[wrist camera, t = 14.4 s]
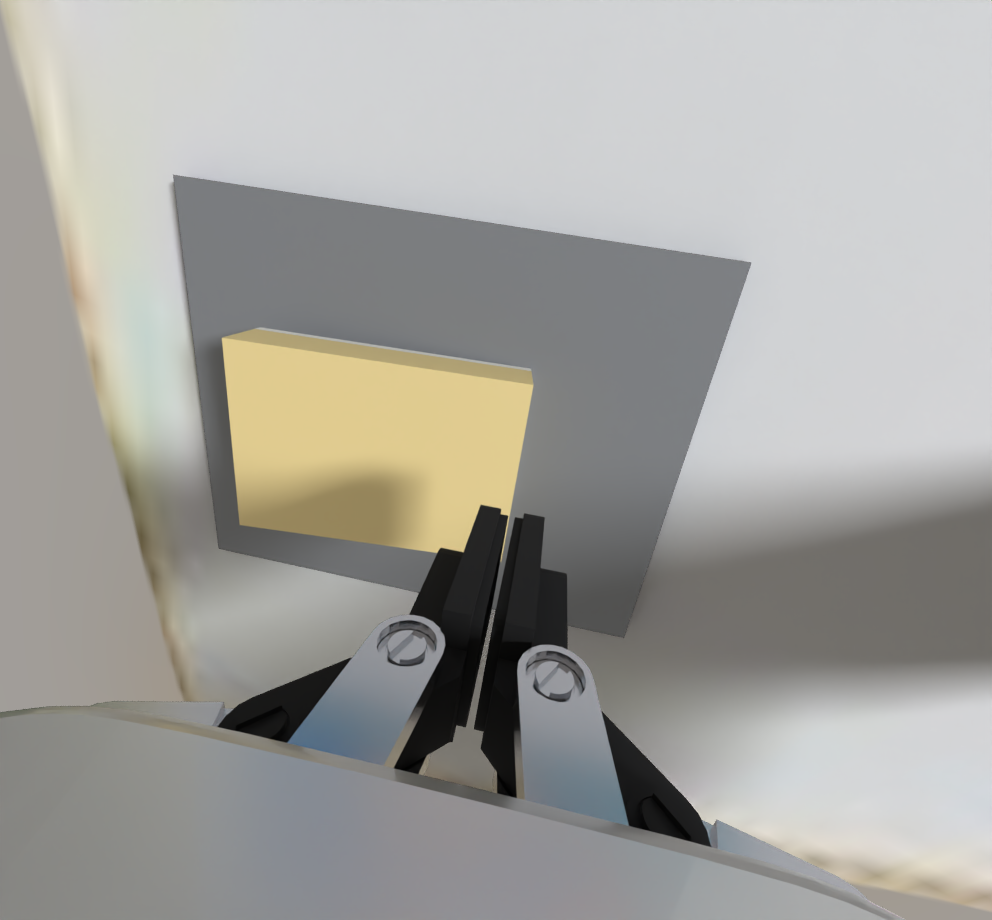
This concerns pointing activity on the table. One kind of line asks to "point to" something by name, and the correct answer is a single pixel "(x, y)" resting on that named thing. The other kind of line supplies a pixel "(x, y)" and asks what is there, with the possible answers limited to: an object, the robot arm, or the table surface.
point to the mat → (477, 336)
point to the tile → (371, 438)
